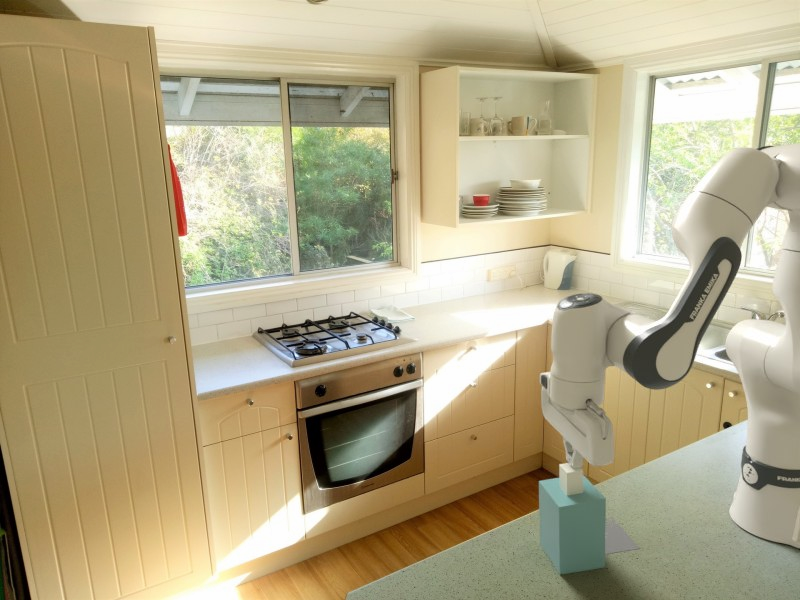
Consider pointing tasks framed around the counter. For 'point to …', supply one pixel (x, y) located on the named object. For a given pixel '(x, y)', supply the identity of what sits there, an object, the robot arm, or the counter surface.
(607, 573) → the counter surface
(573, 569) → the cover
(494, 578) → the counter surface
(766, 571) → the counter surface
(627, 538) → the mat
